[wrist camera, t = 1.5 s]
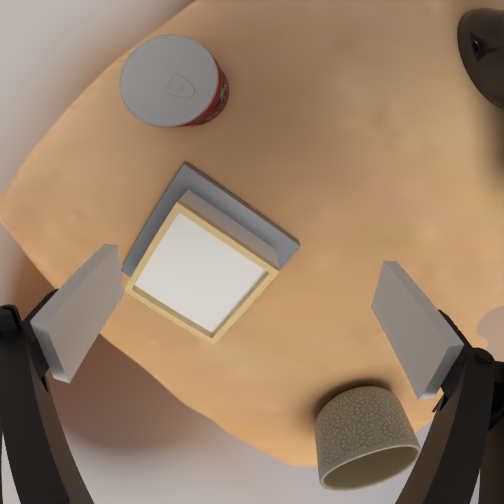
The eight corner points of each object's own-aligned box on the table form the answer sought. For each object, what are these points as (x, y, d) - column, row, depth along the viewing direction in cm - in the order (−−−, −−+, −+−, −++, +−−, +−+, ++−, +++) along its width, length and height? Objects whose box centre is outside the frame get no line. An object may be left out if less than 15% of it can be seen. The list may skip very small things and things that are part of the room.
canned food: (219, 132, 31) (203, 137, 21) (151, 118, 31) (108, 119, 20) (238, 67, 28) (230, 42, 18) (168, 55, 28) (133, 30, 17)
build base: (186, 162, 33) (170, 172, 26) (298, 241, 36) (307, 267, 30) (124, 265, 38) (103, 292, 32) (223, 327, 42) (219, 362, 35)
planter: (388, 359, 45) (419, 431, 31) (400, 406, 51) (422, 466, 37) (296, 396, 48) (305, 472, 34) (325, 436, 54) (335, 497, 40)
